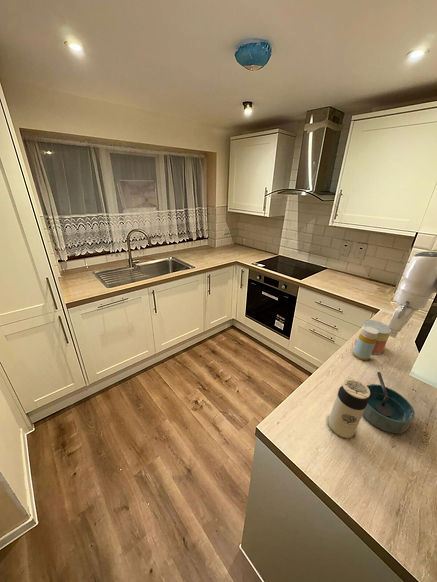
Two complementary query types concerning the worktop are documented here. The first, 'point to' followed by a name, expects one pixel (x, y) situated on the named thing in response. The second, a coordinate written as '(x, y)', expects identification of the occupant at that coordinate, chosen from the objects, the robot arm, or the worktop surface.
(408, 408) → the bowl
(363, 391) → the travel mug
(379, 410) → the ladle
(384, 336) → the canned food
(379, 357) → the worktop surface
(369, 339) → the bottle
